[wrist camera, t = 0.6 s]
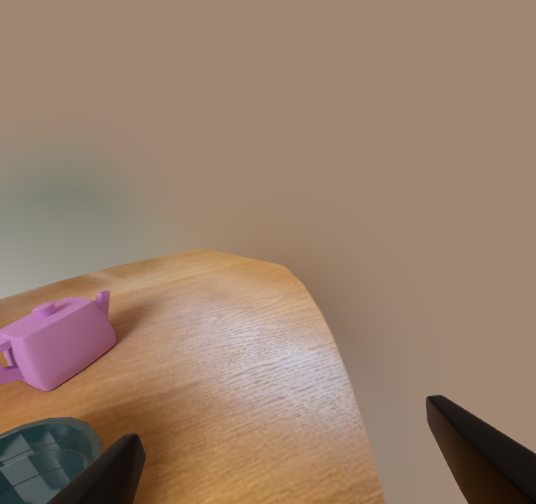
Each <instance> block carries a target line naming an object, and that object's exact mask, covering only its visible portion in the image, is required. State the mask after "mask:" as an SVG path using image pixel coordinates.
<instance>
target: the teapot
mask: <svg viewBox="0 0 536 504" xmlns="http://www.w3.org/2000/svg"><path fill="white" fill-rule="evenodd" d="M109 296H110V291H108V290H105V291H102V292H99V293H98V296H97V298H96V301H95V302H94V301H93V300H89V299H83V298H74V297H67V298H64V299H62V300H59V301H57V302H55V303H54V302H46V303H43V304H41V305H38V306H37V307H35V308H34V309H33V310H32V311H33V312H34V313H31V314H29V315H27V316H25V317H23V318H21V319H19V320H17V321H15V322H13V323H11V324H9V325H7V326H5V327H4V328H2V329H0V353H1V352H3V353H4V355H5V358H6V360H7V362H8V364H9V367H5V368H3V367H2V365H1V364H0V384H4V383H9V382H13V381H18V380H23V381H24V382H26V383H27V384H29V385H31V386H33V387H35V388H37V389H40V390H43V391H47V392H48V391H50V390H52V389H54V388H56V387H57V386H59V385H61V384H62V383H64V382H65V381H67V380H68V379H70V378H71V377H73V376H74V375H76V374H77V373H79V372H80V371H81V370H83V369H84V368H86V367H87V366H89V365H90V364H91V363H93V362H94V361H95V360H97V359H98V358H99V357H100V356H102V355H103V354H104V353H105V352H107V351H108V350H109V349H110V348H112V347H113V346H114V345H115V344H116V335H115V332H114V330H113V328H112V326H111V324H110V322H109V321H108V309H109Z"/></svg>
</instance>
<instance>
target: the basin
mask: <svg viewBox="0 0 536 504" xmlns="http://www.w3.org/2000/svg"><path fill="white" fill-rule="evenodd" d="M105 451H106V448H105V446H104V445H103V443H102V441H101V439H100V437H99V436H98V434H97V433H96V432H95V431H94V430H93V428H92V427H91V426H90V425H89V424H88V423H86V422H83V421H80V420H77V419H75V418H72V417H62V418H47V419H43V420H39V421H36V422H32V423H28V424H24V425H21V426H19V427H16V428H14V429H11V430H9V431H7V432H4V433H2V434H0V504H46V503H48V502H49V501H50V500H51V499H52V498H53V497H54V496H55V495H57V494H58V493H59V492H60V491H61V490H62V489H63V488H65V487H66V486H67V485H68V484H69V483H70V482H71V481H72V480H74V479H75V478H76V477H77V476H78V475H79V474H80V473H82V472H83V471H84V470H85V469H86V468H87V467H88V466H89V465H91V464H92V463H93V462H94V461H95V460H96V459H97V458H99V457H100V456H101V455H102V454H103V453H104V452H105Z"/></svg>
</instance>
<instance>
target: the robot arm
mask: <svg viewBox="0 0 536 504" xmlns="http://www.w3.org/2000/svg"><path fill="white" fill-rule="evenodd" d="M426 409H427V421H428V424H429V427H430V429H431V431H432V433H433V435H434V437H435V439H436V441H437V443H438V445H439V447H440V450H441V452H442V454H443V456H444V458H445V460H446V461H447V464H448V466H449V468H450V470H451V472H452V474H453V476H454V478H455V480H456V482H457V484H458V486H459V488H460V490H461V491H462V493H463V495H464V496H465V498H466V500H467V502H468V503H469V504H536V454H535V453H534V452H532V451H530V450H529V449H527V448H526V447H524V446H523V445H521V444H519V443H518V442H516V441H514V440H513V439H511V438H510V437H508V436H506V435H505V434H503V433H501V432H500V431H499V430H496V429H495V428H494V427H492V426H490V425H489V424H487V423H486V422H484V421H483V420H481V419H479V418H478V417H476V416H475V415H473V414H471V413H470V412H468V411H466V410H465V409H463V408H462V407H460V406H458V405H457V404H455V403H454V402H452V401H451V400H449V399H447V398H446V397H444V396H442V395H434V396H428V397H427V398H426ZM144 463H145V451H144V448H143V445H142V443H141V440H140V437H139V435H138V434H127V435H124V436H122V437H121V438H120V439H119V440H118V441H117V442H115V443H114V444H113V445H112V446H111V447H110V448H109V449H108V450H106V451H105V452H104V453H103V454H102V455H101V456H100V457H99V458H97V459H96V460H95V461H94V462H93V463H92V464H91V465H89V466H88V467H87V468H86V469H85V470H84V471H83V472H82V473H80V474H79V475H78V476H77V477H76V478H75V479H74V480H72V481H71V482H70V483H69V484H68V485H67V486H66V487H65V488H63V489H62V490H61V491H60V492H59V493H58V494H57V495H55V496H54V497H53V498H52V499H51V500H50V501H49V502H48V503H46V504H133V501H134V497H135V494H136V490H137V487H138V484H139V480H140V477H141V474H142V470H143V467H144Z"/></svg>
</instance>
